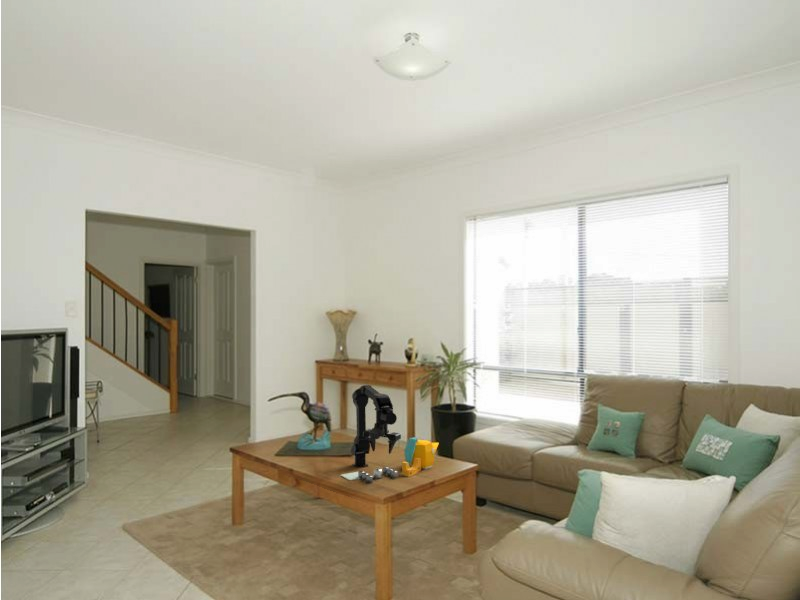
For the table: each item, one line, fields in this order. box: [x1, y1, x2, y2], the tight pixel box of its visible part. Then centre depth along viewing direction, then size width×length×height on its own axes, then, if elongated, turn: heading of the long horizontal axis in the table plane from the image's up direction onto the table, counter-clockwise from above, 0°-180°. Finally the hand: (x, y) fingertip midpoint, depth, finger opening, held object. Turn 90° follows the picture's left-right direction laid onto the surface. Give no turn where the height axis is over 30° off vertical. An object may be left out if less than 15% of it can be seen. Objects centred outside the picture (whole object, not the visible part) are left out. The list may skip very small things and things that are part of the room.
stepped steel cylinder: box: [372, 467, 383, 480], centre depth 276 cm, size 4×4×4 cm
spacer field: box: [357, 466, 398, 484], centre depth 276 cm, size 11×17×3 cm, turn 122°
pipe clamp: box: [401, 458, 422, 477], centre depth 283 cm, size 12×4×6 cm, turn 140°
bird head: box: [403, 437, 439, 470], centre depth 299 cm, size 14×26×16 cm, turn 138°
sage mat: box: [340, 471, 361, 482], centre depth 278 cm, size 10×10×1 cm
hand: (381, 452), depth 275 cm, fingers open, 9 cm apart
